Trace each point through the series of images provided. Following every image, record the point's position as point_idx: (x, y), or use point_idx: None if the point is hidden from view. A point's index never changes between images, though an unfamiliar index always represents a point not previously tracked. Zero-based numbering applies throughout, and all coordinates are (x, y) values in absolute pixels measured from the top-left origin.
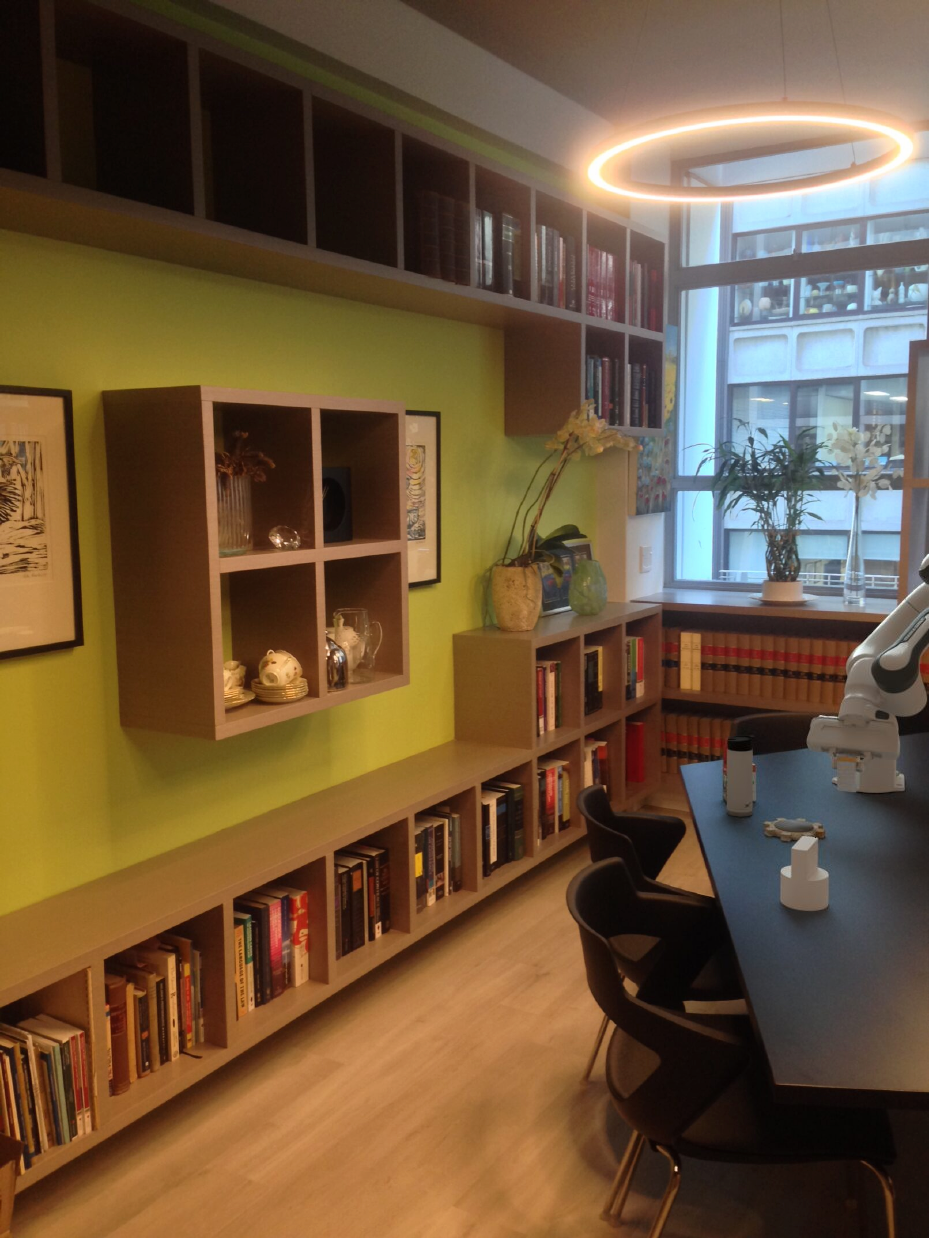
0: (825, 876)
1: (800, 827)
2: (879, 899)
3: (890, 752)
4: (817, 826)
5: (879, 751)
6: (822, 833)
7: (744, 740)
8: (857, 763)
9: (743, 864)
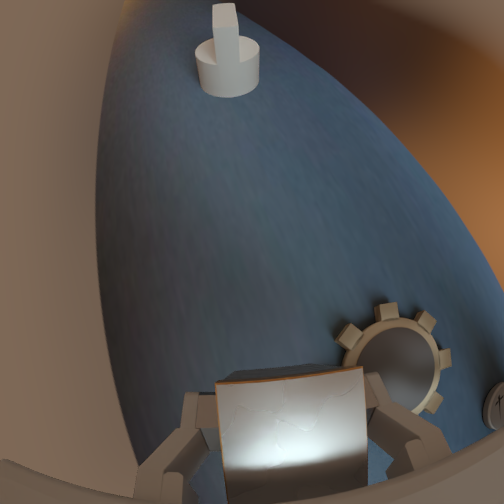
0: (198, 51)
1: (380, 367)
2: (143, 126)
3: (12, 461)
4: None
5: (67, 482)
6: None
7: None
8: None
9: (367, 148)
